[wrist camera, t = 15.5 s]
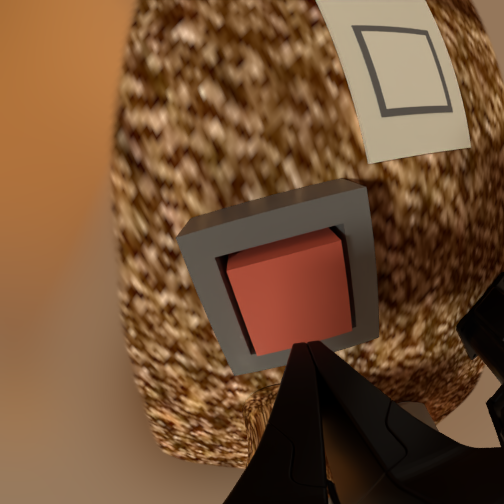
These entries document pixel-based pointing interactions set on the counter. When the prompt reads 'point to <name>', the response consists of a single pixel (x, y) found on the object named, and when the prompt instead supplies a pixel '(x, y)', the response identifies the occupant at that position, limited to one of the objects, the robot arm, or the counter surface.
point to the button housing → (270, 230)
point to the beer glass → (255, 423)
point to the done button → (292, 290)
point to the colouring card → (397, 77)
